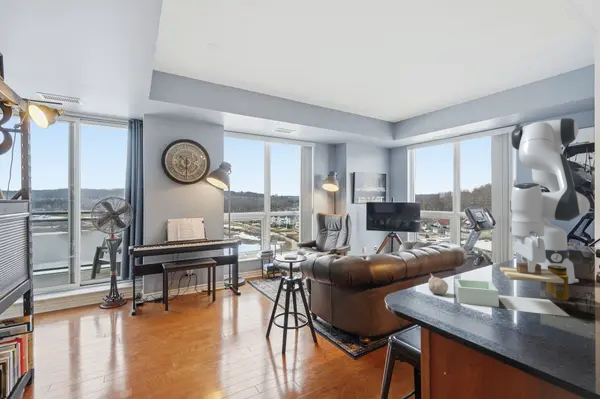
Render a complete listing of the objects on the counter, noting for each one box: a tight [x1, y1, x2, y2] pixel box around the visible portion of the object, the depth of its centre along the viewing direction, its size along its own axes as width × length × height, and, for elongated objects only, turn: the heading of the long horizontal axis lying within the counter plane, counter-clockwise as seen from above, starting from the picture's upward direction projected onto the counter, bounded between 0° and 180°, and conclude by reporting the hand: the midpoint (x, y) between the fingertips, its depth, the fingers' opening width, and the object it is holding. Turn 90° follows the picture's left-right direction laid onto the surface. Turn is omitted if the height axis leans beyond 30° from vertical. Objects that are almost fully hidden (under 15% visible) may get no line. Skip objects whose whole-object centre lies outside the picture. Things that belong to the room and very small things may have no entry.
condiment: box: [545, 265, 570, 301], centre depth 105 cm, size 7×8×12 cm
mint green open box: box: [454, 278, 500, 308], centre depth 105 cm, size 12×12×6 cm
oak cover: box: [499, 262, 564, 283], centre depth 99 cm, size 14×14×4 cm
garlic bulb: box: [427, 272, 449, 295], centre depth 114 cm, size 7×6×8 cm
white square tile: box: [499, 294, 570, 317], centre depth 99 cm, size 16×16×1 cm
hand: (528, 270), depth 99 cm, fingers closed on oak cover, 3 cm apart
